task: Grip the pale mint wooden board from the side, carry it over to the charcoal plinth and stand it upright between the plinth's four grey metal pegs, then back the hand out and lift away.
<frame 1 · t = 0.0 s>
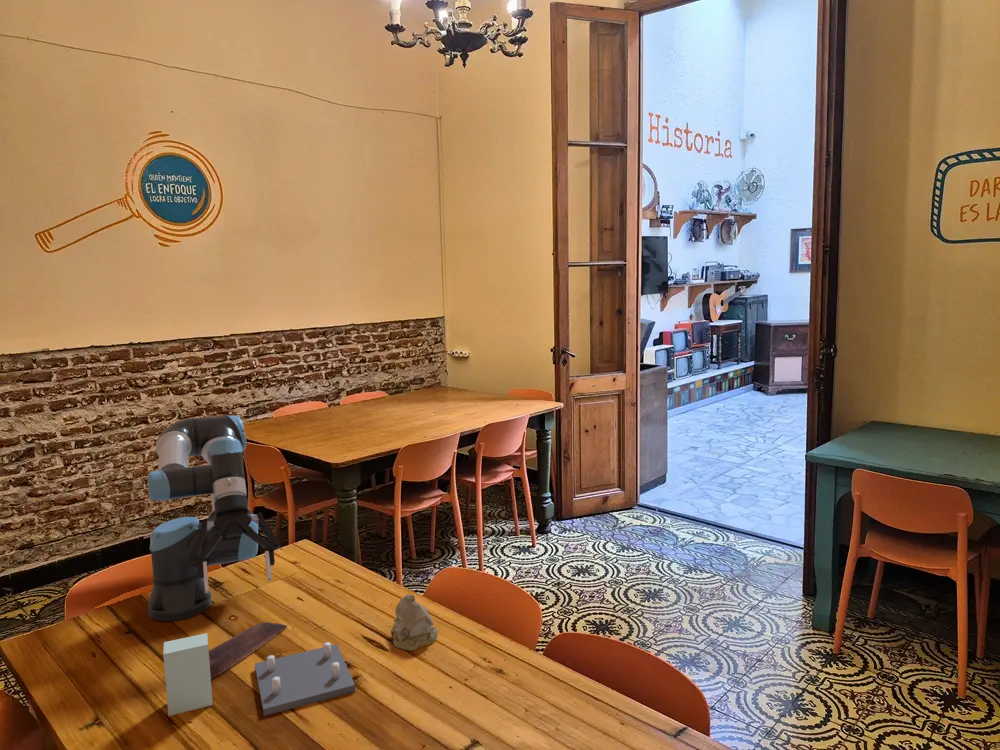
hand: (238, 585, 155), 15 cm above the table, tool tilted 35°, fingers open, 13 cm apart
ceramic model: (412, 635, 162), on the table
wooden tablet: (237, 652, 156), on the table
peg plinth: (303, 680, 143), on the table
mint board: (190, 703, 136), on the table
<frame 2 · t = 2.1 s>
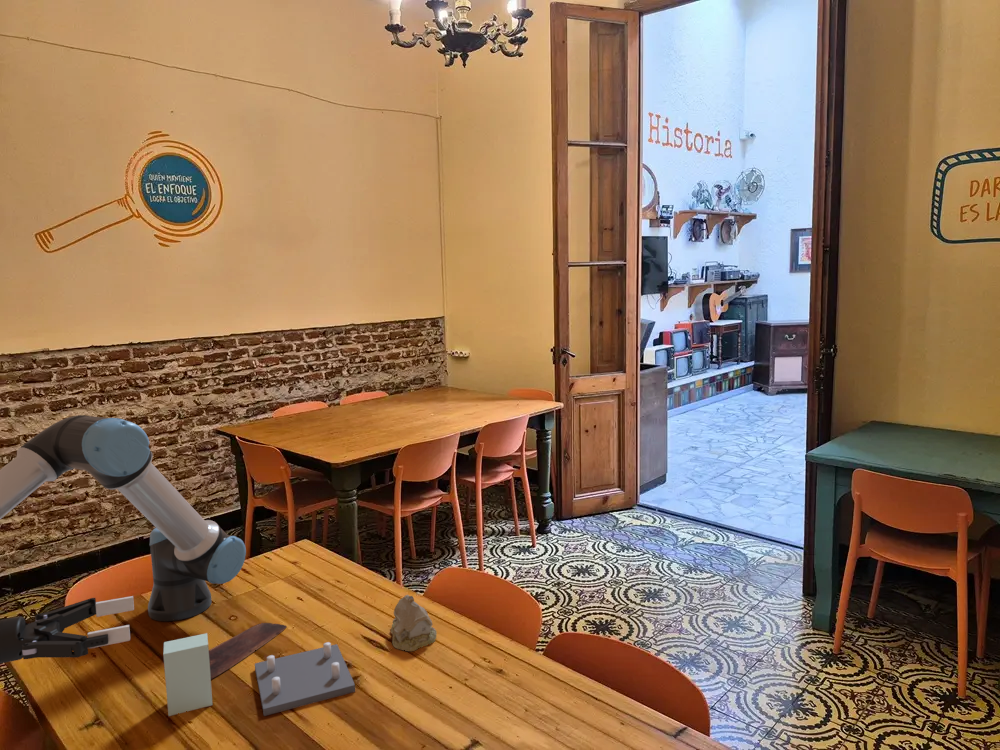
hand: (131, 617, 129), 21 cm above the table, tool horizontal, fingers open, 13 cm apart
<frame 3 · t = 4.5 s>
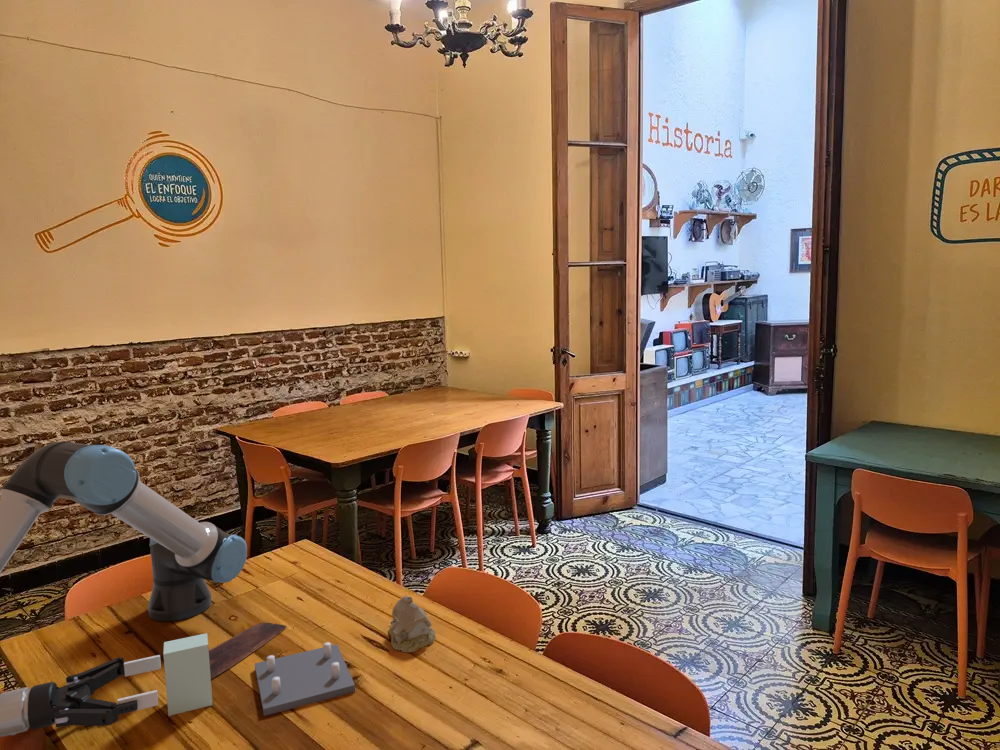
hand: (159, 678, 132), 7 cm above the table, tool horizontal, fingers open, 13 cm apart
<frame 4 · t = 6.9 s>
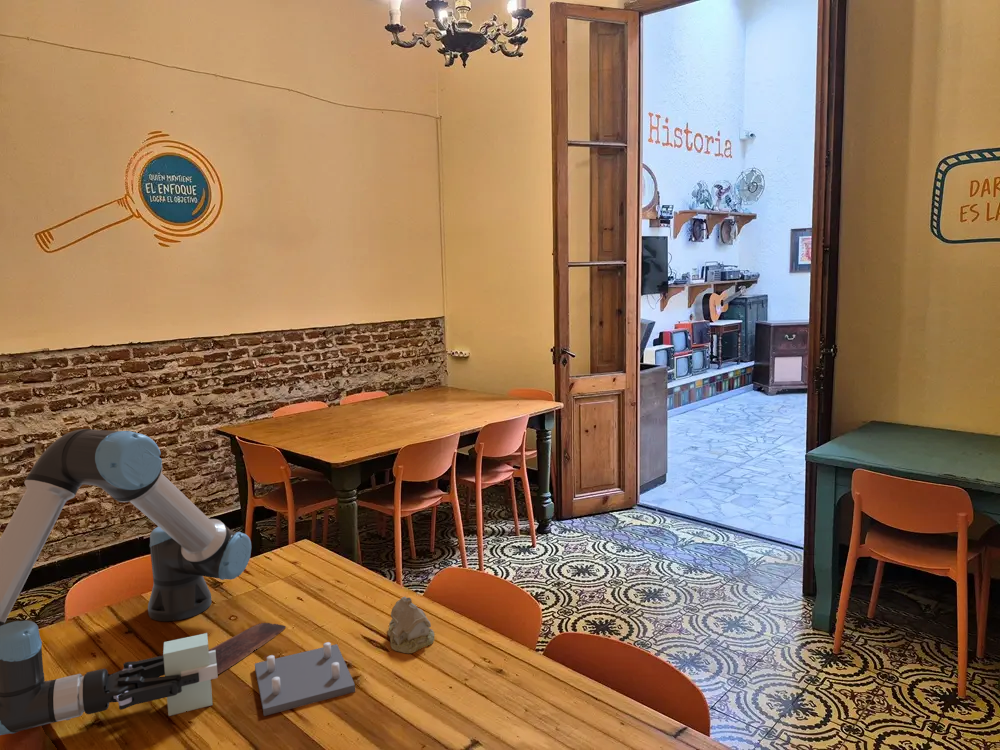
hand: (216, 663, 137), 7 cm above the table, tool horizontal, fingers closed on mint board, 5 cm apart
mint board: (190, 703, 136), on the table, touching gripper
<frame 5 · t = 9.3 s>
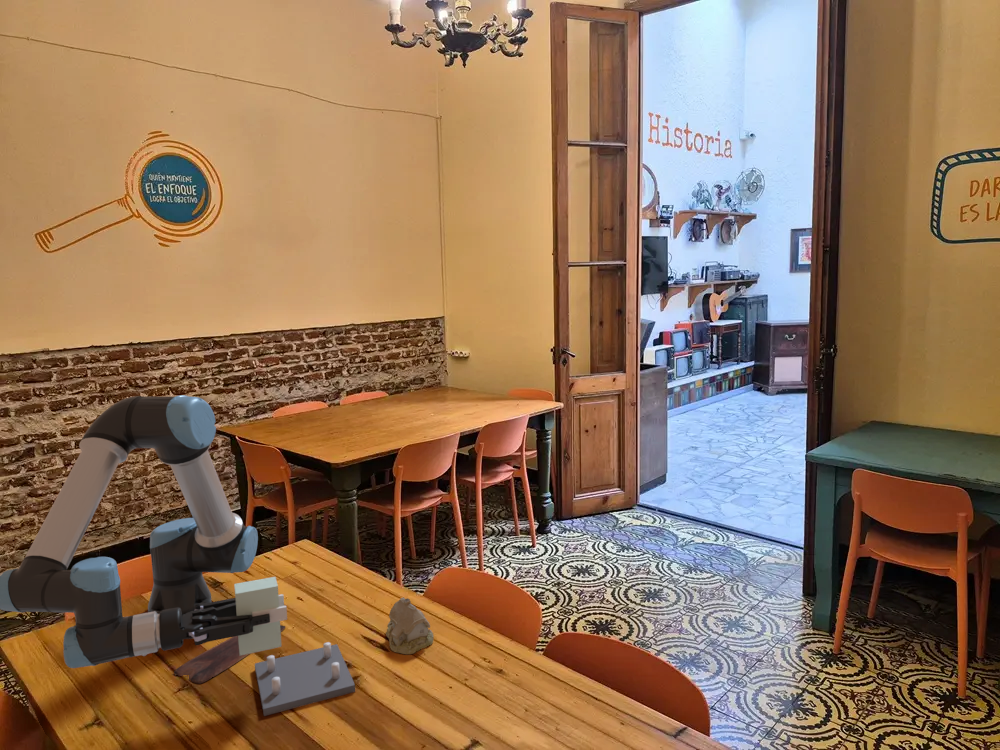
hand: (284, 606, 138), 18 cm above the table, tool horizontal, fingers closed on mint board, 5 cm apart
mint board: (259, 645, 137), point 11 cm above the table, touching gripper
when the fingers open (10 cm above the table, at t = 11.7 s): mint board stays where it is, resting on peg plinth.
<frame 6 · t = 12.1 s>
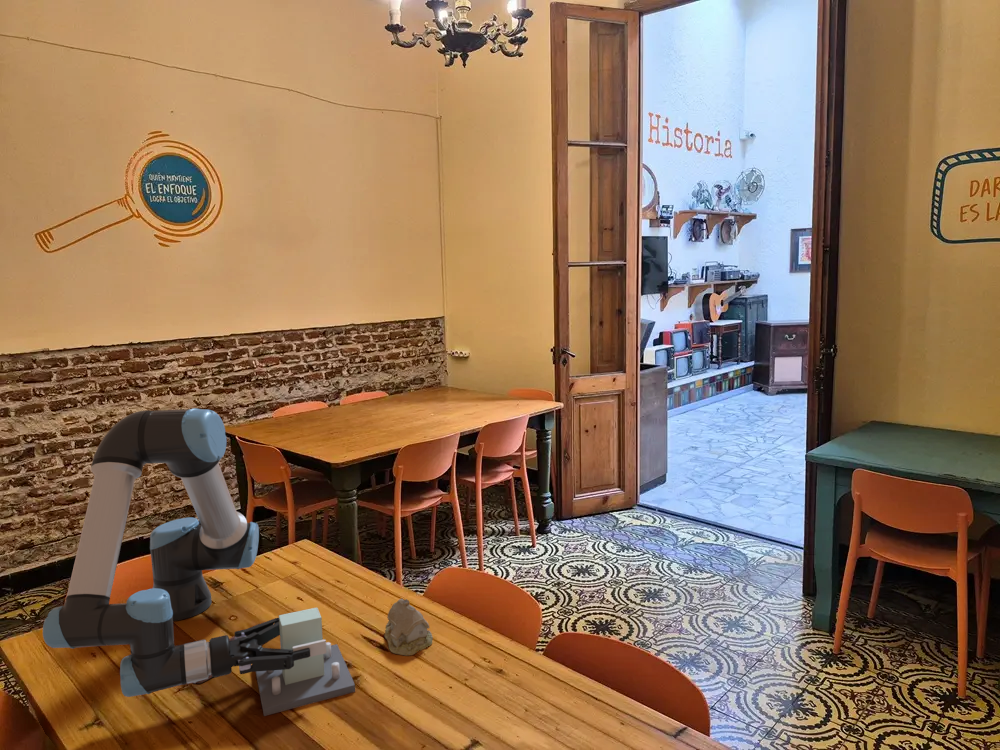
hand: (320, 633, 143), 10 cm above the table, tool horizontal, fingers open, 11 cm apart
mint board: (303, 673, 143), point 1 cm above the table, touching peg plinth
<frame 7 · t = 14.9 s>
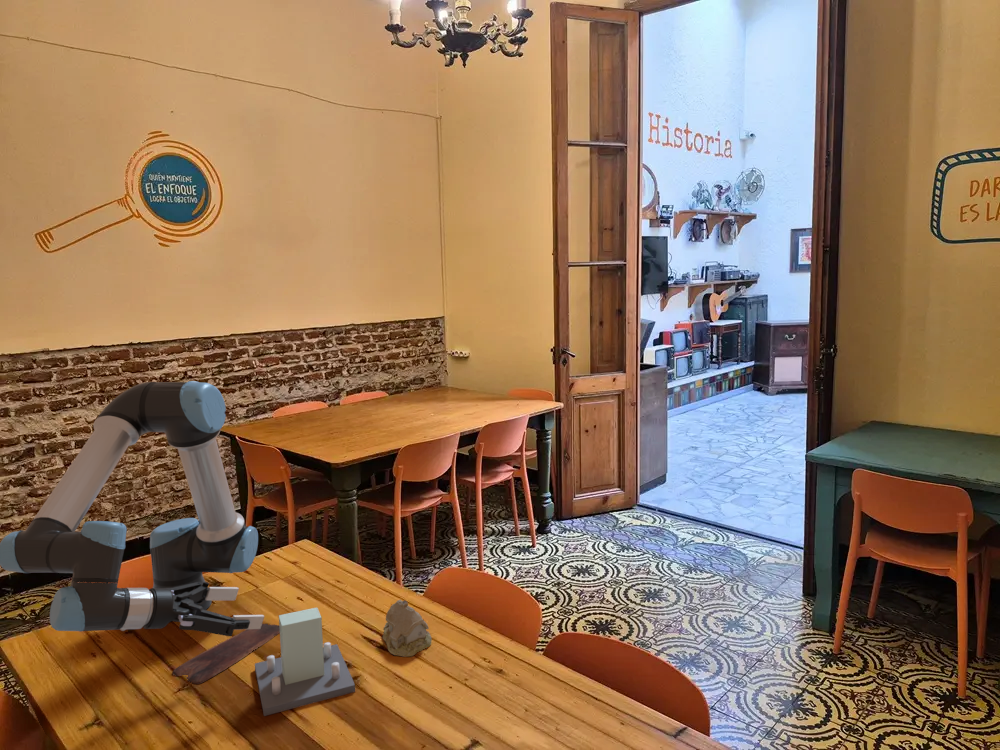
hand: (248, 607, 144), 15 cm above the table, tool tilted 70°, fingers open, 13 cm apart
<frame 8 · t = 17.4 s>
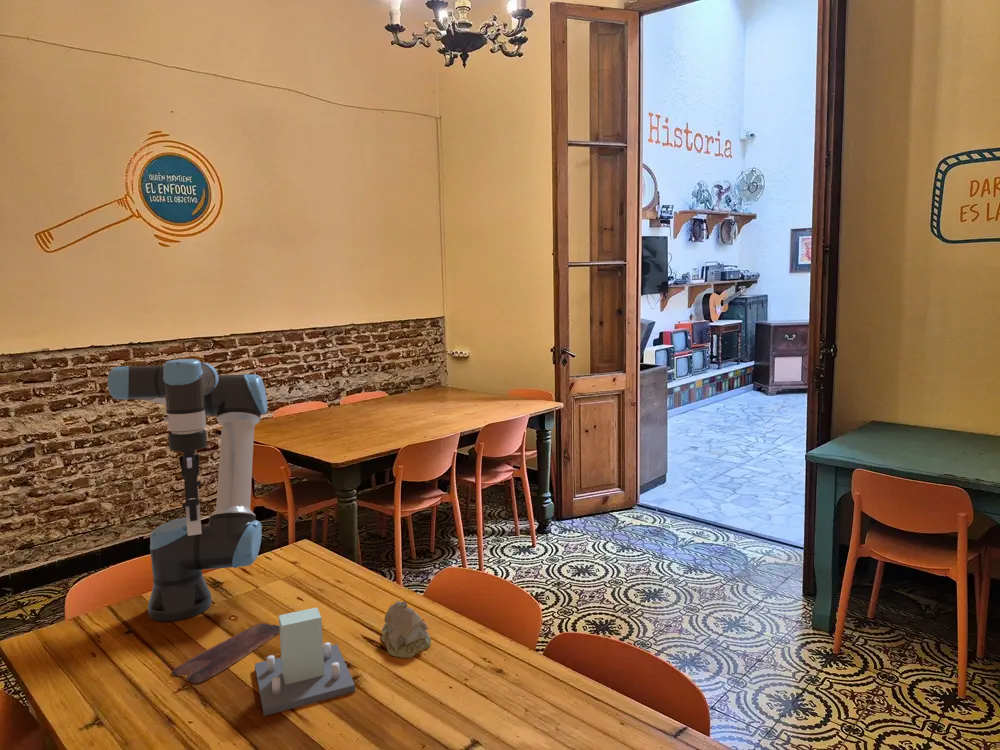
hand: (194, 524, 148), 32 cm above the table, tool pointing down, fingers open, 13 cm apart
at the end: mint board 0.0 cm off-centre on the peg plinth, point 1.5 cm above the peg plinth's base; mint board tilted 0°; the gripper is holding nothing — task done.
